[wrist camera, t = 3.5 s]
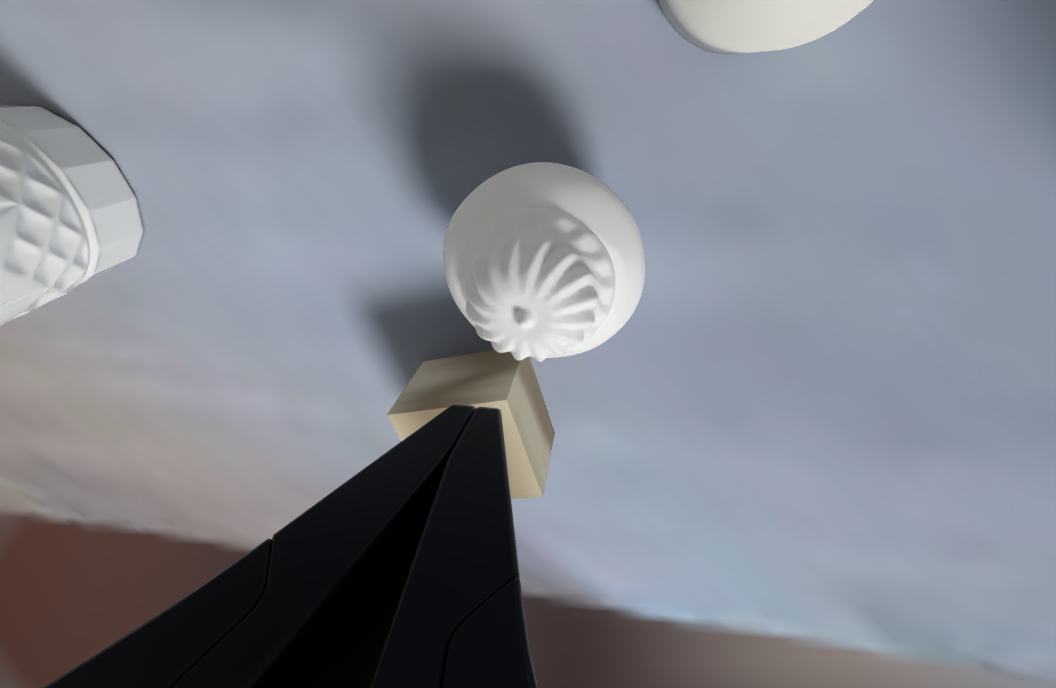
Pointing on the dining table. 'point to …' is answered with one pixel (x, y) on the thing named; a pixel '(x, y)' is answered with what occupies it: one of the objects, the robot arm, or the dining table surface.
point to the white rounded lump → (756, 22)
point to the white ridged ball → (544, 261)
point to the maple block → (491, 386)
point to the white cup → (57, 210)
